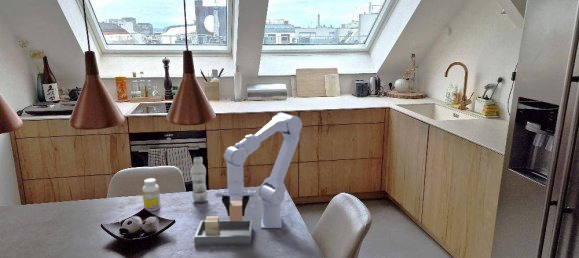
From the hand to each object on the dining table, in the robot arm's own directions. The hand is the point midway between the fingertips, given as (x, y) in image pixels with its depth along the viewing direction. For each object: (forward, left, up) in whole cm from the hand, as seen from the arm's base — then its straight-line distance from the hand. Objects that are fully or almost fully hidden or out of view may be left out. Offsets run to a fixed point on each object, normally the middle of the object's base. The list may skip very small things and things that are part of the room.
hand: (236, 214), depth 148 cm
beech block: (0, -9, -7) cm, 12 cm away
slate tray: (0, -4, -8) cm, 10 cm away
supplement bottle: (-25, -38, -9) cm, 46 cm away
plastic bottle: (-31, -19, -9) cm, 38 cm away
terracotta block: (0, 0, -2) cm, 2 cm away
